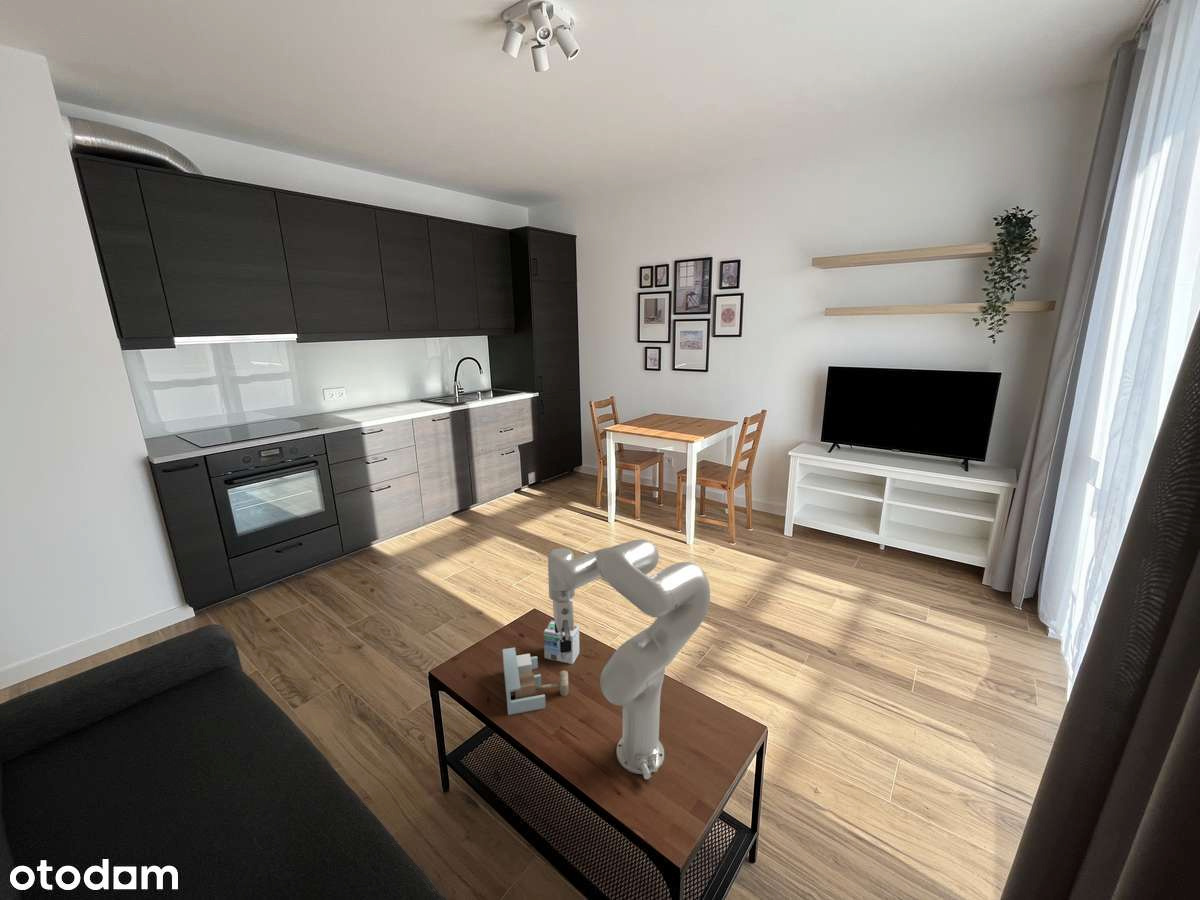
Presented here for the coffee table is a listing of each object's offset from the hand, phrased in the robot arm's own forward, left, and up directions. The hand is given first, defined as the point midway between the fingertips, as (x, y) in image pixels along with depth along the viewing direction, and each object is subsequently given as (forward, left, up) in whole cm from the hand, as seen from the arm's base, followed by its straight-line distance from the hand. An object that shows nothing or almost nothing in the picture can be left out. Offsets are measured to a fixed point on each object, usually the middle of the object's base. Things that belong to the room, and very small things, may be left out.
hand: (562, 641), depth 149 cm
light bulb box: (+18, -3, -18) cm, 26 cm away
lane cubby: (+5, +11, -18) cm, 22 cm away
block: (+9, +12, -18) cm, 24 cm away
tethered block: (0, +7, -18) cm, 19 cm away
